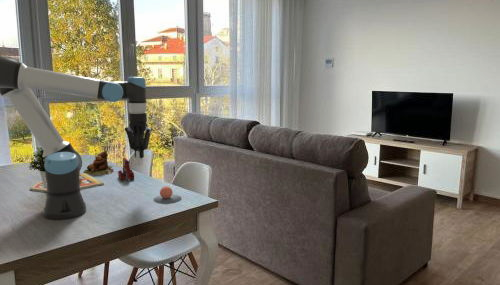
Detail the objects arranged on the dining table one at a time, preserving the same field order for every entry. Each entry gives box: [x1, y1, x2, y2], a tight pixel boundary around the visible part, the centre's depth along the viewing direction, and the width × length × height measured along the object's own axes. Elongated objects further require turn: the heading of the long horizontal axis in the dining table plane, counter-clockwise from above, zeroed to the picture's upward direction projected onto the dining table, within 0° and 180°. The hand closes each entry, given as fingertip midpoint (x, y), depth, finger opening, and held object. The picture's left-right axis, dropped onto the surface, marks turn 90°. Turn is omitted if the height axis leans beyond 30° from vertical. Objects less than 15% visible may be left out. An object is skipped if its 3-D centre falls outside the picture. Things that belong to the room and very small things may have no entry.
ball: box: [159, 185, 173, 199], centre depth 167 cm, size 6×6×6 cm
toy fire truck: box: [117, 157, 135, 182], centre depth 197 cm, size 7×12×10 cm, turn 27°
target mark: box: [153, 193, 182, 204], centre depth 167 cm, size 12×12×1 cm
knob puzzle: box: [30, 171, 105, 193], centre depth 186 cm, size 29×30×4 cm
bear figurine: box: [83, 150, 114, 176], centre depth 210 cm, size 14×15×12 cm
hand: (139, 164), depth 169 cm, fingers closed
